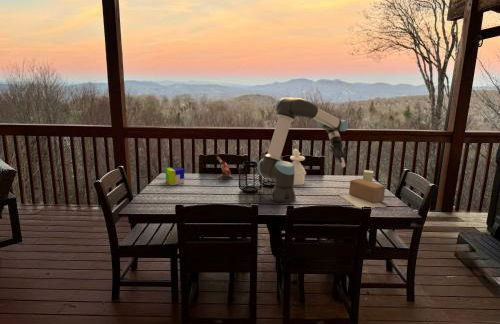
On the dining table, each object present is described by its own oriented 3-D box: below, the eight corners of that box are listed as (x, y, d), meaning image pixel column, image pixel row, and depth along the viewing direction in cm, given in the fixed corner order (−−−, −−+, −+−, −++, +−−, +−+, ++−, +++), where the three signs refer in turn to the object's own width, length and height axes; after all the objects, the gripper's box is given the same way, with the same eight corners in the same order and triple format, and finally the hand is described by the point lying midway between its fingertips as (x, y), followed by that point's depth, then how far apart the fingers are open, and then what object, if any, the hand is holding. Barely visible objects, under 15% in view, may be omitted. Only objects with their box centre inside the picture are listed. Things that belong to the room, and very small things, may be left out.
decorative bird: (208, 168, 264) (216, 151, 262) (229, 177, 268) (237, 160, 265) (208, 178, 237) (216, 159, 234) (231, 187, 240) (240, 168, 238)
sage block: (361, 191, 227) (363, 171, 223) (362, 189, 232) (364, 169, 229) (370, 192, 224) (373, 172, 221) (371, 190, 230) (373, 170, 227)
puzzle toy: (184, 183, 236) (184, 169, 233) (171, 185, 230) (170, 171, 228) (179, 179, 244) (178, 166, 241) (165, 181, 238) (165, 168, 236)
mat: (340, 196, 215) (340, 195, 215) (365, 195, 219) (365, 194, 219) (358, 208, 193) (358, 207, 193) (385, 207, 197) (386, 206, 197)
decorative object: (282, 181, 247) (283, 148, 242) (297, 179, 253) (299, 147, 248) (294, 186, 234) (296, 152, 228) (309, 184, 240) (311, 150, 234)
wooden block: (348, 194, 217) (373, 203, 201) (349, 180, 215) (375, 188, 199) (358, 192, 223) (384, 201, 206) (359, 178, 221) (385, 185, 204)
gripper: (341, 141, 245) (350, 169, 233) (324, 141, 242) (333, 169, 230) (345, 135, 239) (354, 163, 226) (328, 135, 236) (337, 163, 224)
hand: (343, 166), depth 228 cm, fingers closed
